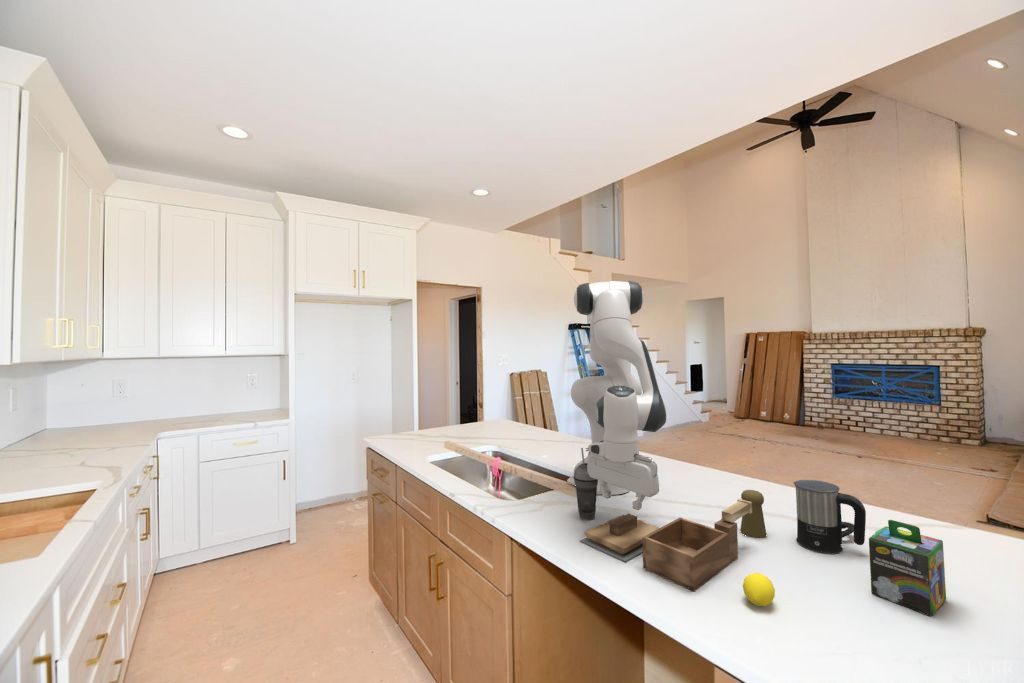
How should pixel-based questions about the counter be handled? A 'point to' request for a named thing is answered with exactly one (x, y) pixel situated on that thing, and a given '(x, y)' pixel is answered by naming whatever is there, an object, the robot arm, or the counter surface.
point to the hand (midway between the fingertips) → (621, 503)
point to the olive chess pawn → (753, 515)
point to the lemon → (759, 589)
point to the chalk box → (907, 567)
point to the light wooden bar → (737, 510)
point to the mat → (615, 554)
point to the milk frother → (826, 516)
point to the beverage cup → (585, 491)
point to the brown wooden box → (690, 551)
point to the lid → (621, 533)
